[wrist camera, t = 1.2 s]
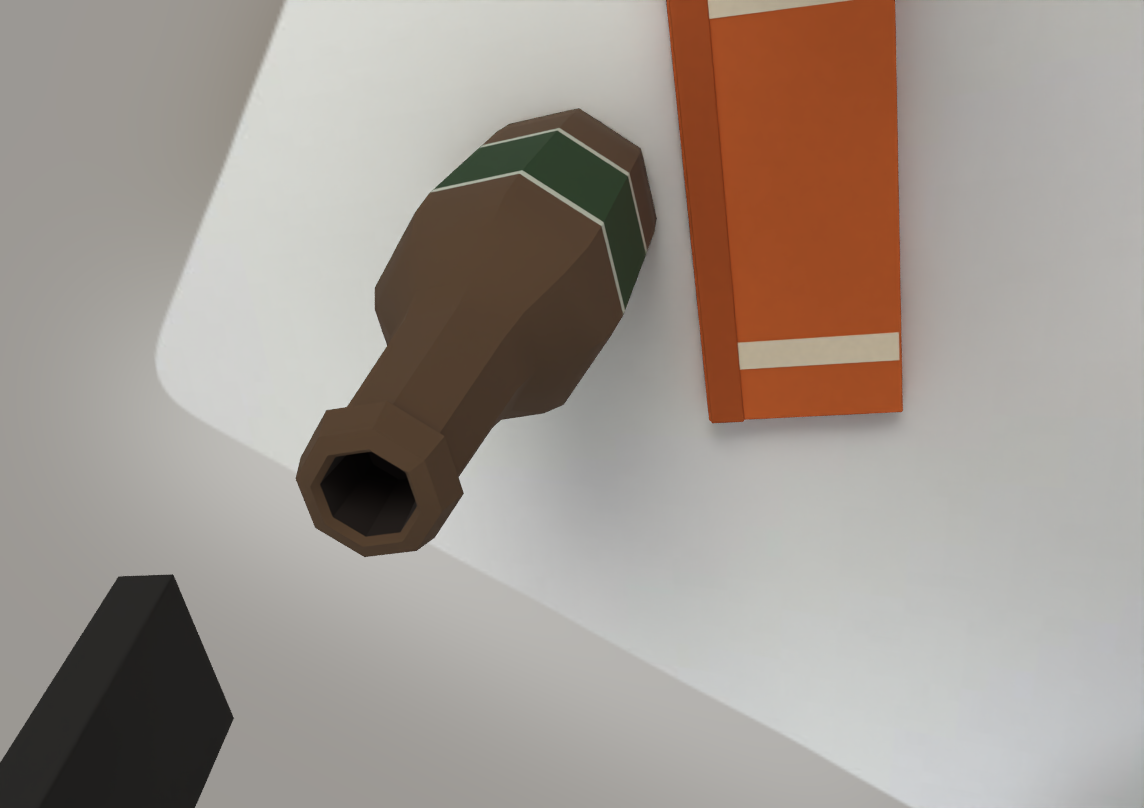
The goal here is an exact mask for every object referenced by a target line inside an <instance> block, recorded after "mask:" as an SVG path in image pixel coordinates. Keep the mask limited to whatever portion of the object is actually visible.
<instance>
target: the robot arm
mask: <svg viewBox="0 0 1144 808" xmlns="http://www.w3.org/2000/svg"><path fill="white" fill-rule="evenodd" d="M233 719H234V718H233V715H232V713H231V710H230V708H229V706H228V704H227V701H226V699H225V696H224V694H223V692H222V689H221V687H220V684H219V682H218V680H217V677H216V675H215V673H214V670H213V668H212V665H211V663H210V661H209V658H208V656H207V654H206V651H205V649H204V646H203V644H202V642H201V639H200V637H199V635H198V632H197V630H196V627H195V625H194V623H193V621H192V618H191V616H190V614H189V611H188V609H187V606H186V604H185V601H184V599H183V597H182V594H181V592H180V590H179V587H178V585H177V582H176V580H175V578H174V575H149V576H123V577H118V578H117V580H116V582H115V583H114V585H113V586H112V588H111V589H110V591H109V593H108V594H107V596H106V597H105V599H104V600H103V602H102V603H101V605H100V607H99V608H98V610H97V611H96V613H95V614H94V616H93V618H92V619H91V621H90V622H89V624H88V625H87V627H86V629H85V630H84V632H83V633H82V635H81V636H80V638H79V640H78V641H77V643H76V644H75V646H74V647H73V649H72V651H71V652H70V654H69V655H68V657H67V658H66V660H65V662H64V663H63V665H62V667H61V668H60V670H59V671H58V673H57V674H56V676H55V677H54V679H53V681H52V682H51V684H50V685H49V687H48V688H47V690H46V692H45V693H44V695H43V696H42V698H41V699H40V701H39V703H38V704H37V706H36V707H35V709H34V711H33V712H32V714H31V715H30V717H29V719H28V720H27V722H26V723H25V725H24V726H23V728H22V729H21V731H20V732H19V734H18V736H17V737H16V739H15V740H14V742H13V743H12V745H11V747H10V748H9V750H8V752H7V753H6V755H5V756H4V758H3V759H2V761H1V762H0V808H195V806H196V804H197V801H198V799H199V797H200V795H201V792H202V790H203V788H204V785H205V783H206V781H207V778H208V776H209V774H210V772H211V769H212V767H213V765H214V762H215V760H216V758H217V756H218V753H219V751H220V749H221V746H222V744H223V742H224V739H225V737H226V735H227V733H228V730H229V728H230V726H231V723H232V721H233Z"/></svg>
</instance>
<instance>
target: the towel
mask: <svg viewBox="0 0 1144 808" xmlns="http://www.w3.org/2000/svg"><path fill="white" fill-rule="evenodd" d="M666 3H667V13H668V22H669V32H670V42H671V52H672V61H673V71H674V81H675V91H676V101H677V110H678V120H679V130H680V140H681V149H682V159H683V169H684V179H685V188H686V198H687V208H688V218H689V227H690V237H691V247H692V257H693V267H694V276H695V286H696V296H697V306H698V315H699V325H700V335H701V345H702V354H703V364H704V374H705V384H706V394H707V403H708V413H709V420H710V421H711V422H712V423H726V422H743V421H744V420H746V419H767V418H787V417H808V416H828V415H849V414H869V413H890V412H902V411H903V400H902V346H901V292H900V238H899V185H898V131H897V77H896V23H895V0H666Z"/></svg>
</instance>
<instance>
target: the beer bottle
mask: <svg viewBox="0 0 1144 808" xmlns="http://www.w3.org/2000/svg"><path fill="white" fill-rule="evenodd" d="M656 219H657V218H656V214H655V209H654V205H653V200H652V196H651V191H650V187H649V183H648V178H647V174H646V169H645V165H644V160H643V156H642V151H641V148H639V147H638V146H636V145H635V144H633V143H631V142H630V141H628V140H627V139H625V138H624V137H622V136H621V135H619V134H618V133H616V132H615V131H613V130H611V129H610V128H608V127H607V126H605V125H604V124H602V123H601V122H599V121H598V120H596V119H594V118H593V117H591V116H590V115H588V114H587V113H585V112H584V111H582V110H581V109H579V108H578V109H574V110H569V111H565V112H560V113H556V114H552V115H547V116H543V117H538V118H534V119H530V120H525V121H521V122H516V123H512V124H509V125H507V126H506V127H504V128H502V129H501V130H499V131H497V132H496V133H495V134H494V135H493V136H492V137H491V138H490V139H489V140H487V141H486V142H485V143H484V144H483V145H482V146H481V147H480V148H479V149H478V150H476V151H475V152H474V153H473V154H472V155H471V156H470V157H469V158H468V159H467V160H465V161H464V162H463V163H462V164H461V165H460V166H459V167H458V168H457V169H456V170H454V171H453V172H452V173H451V174H450V175H449V176H448V177H447V178H446V179H444V180H443V181H442V182H441V183H440V184H439V185H438V186H437V187H436V188H435V189H433V190H432V191H431V192H430V193H429V195H428V196H427V197H426V199H425V200H424V201H423V203H422V204H421V205H420V207H419V208H418V209H417V211H416V212H415V214H414V216H413V217H412V219H411V221H410V223H409V225H408V227H407V229H406V230H405V232H404V234H403V236H402V238H401V240H400V242H399V244H398V245H397V247H396V249H395V251H394V253H393V255H392V257H391V259H390V260H389V262H388V264H387V266H386V268H385V270H384V272H383V274H382V275H381V277H380V279H379V281H378V283H377V285H376V287H375V311H376V314H377V317H378V320H379V323H380V326H381V329H382V332H383V334H384V337H385V340H386V343H387V347H386V349H385V350H384V352H383V353H382V355H381V356H380V358H379V359H378V361H377V362H376V364H375V365H374V367H373V368H372V370H371V372H370V373H369V375H368V376H367V378H366V379H365V381H364V382H363V384H362V385H361V387H360V388H359V390H358V391H357V393H356V394H355V396H354V397H353V399H352V400H351V402H350V403H349V405H348V406H347V407H345V408H339V409H332V410H326V412H325V414H324V416H323V418H322V419H321V421H320V423H319V425H318V427H317V429H316V430H315V432H314V434H313V436H312V438H311V440H310V441H309V443H308V445H307V447H306V449H305V451H304V452H303V454H302V456H301V459H300V463H299V467H298V471H297V475H296V481H297V483H298V486H299V488H300V491H301V493H302V496H303V498H304V501H305V503H306V506H307V508H308V511H309V513H310V516H311V518H312V521H313V523H314V526H315V528H317V529H318V530H320V531H322V532H324V533H325V534H327V535H329V536H330V537H332V538H334V539H335V540H337V541H338V542H340V543H342V544H344V545H345V546H347V547H349V548H351V549H352V550H354V551H355V552H357V553H359V554H360V555H362V556H364V557H368V556H377V555H385V554H393V553H402V552H410V551H417V550H418V549H420V548H421V547H422V546H424V545H425V544H427V543H428V542H429V541H431V540H432V539H433V538H435V536H436V535H437V533H438V532H439V530H440V529H441V527H442V526H443V524H444V523H445V521H446V520H447V518H448V517H449V515H450V514H451V512H452V510H453V509H454V507H455V506H456V504H457V503H458V501H459V500H460V498H461V497H462V495H463V494H464V493H463V490H462V487H461V484H460V481H459V478H458V477H459V476H460V474H461V473H462V471H463V470H464V468H465V467H466V465H467V464H468V463H469V461H470V460H471V458H472V457H473V455H474V454H475V452H476V451H477V449H478V448H479V446H480V445H481V443H482V442H483V441H484V439H485V438H486V436H487V435H488V433H489V432H490V430H491V429H492V428H493V427H494V426H495V425H496V424H497V423H498V422H499V421H500V420H502V419H509V418H516V417H522V416H529V415H536V414H542V413H545V412H548V411H550V410H552V409H555V408H557V407H559V406H562V405H564V404H565V402H566V401H567V399H568V398H569V396H570V395H571V393H572V392H573V390H574V389H575V387H576V386H577V384H578V383H579V382H580V380H581V379H582V377H583V376H584V374H585V373H586V371H587V370H588V368H589V367H590V365H591V364H592V363H593V361H594V360H595V358H596V357H597V355H598V354H599V352H600V351H601V349H602V348H603V346H604V345H605V343H606V342H607V341H608V339H609V338H610V336H611V335H612V333H613V331H614V330H615V328H616V326H617V325H618V323H619V321H620V320H621V318H622V316H623V315H624V312H625V309H626V307H627V304H628V301H629V298H630V296H631V293H632V290H633V288H634V285H635V282H636V280H637V277H638V274H639V272H640V269H641V266H642V264H643V261H644V258H645V256H646V253H647V250H648V248H649V245H650V242H651V240H652V237H653V234H654V231H655V225H656Z"/></svg>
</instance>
